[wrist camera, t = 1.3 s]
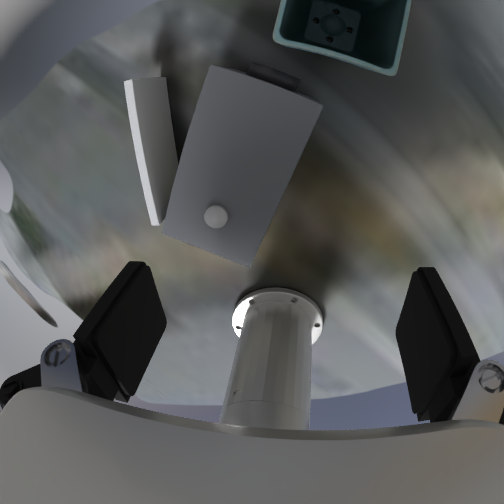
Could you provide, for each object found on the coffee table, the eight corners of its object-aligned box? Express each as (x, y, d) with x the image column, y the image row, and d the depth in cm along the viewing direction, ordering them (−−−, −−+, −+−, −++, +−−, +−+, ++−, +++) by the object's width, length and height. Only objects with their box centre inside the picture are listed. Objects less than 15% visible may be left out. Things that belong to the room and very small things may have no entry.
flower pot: (385, 4, 19) (416, -20, 11) (367, 78, 23) (396, 78, 16) (296, -21, 19) (294, -58, 11) (278, 54, 24) (270, 42, 16)
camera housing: (258, 232, 34) (248, 271, 28) (185, 203, 34) (159, 236, 27) (322, 89, 25) (330, 92, 19) (234, 57, 24) (213, 49, 18)
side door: (184, 196, 33) (159, 225, 27) (169, 197, 33) (142, 225, 27) (165, 76, 26) (131, 79, 20) (150, 80, 26) (114, 84, 20)
